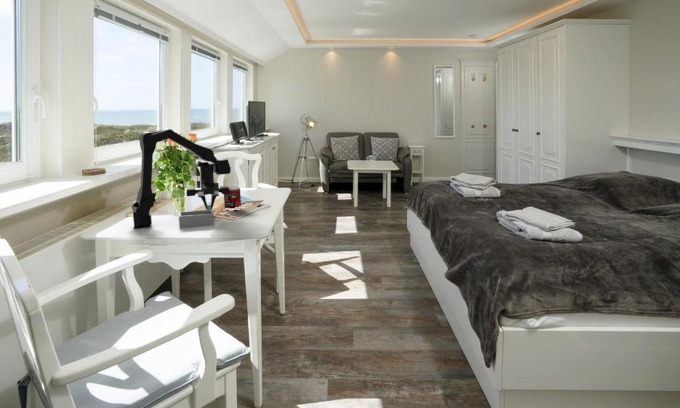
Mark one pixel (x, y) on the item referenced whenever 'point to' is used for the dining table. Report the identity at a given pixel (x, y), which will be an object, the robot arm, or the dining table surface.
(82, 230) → the dining table surface
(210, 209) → the lid
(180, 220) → the tub
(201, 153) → the robot arm
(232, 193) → the canned food
